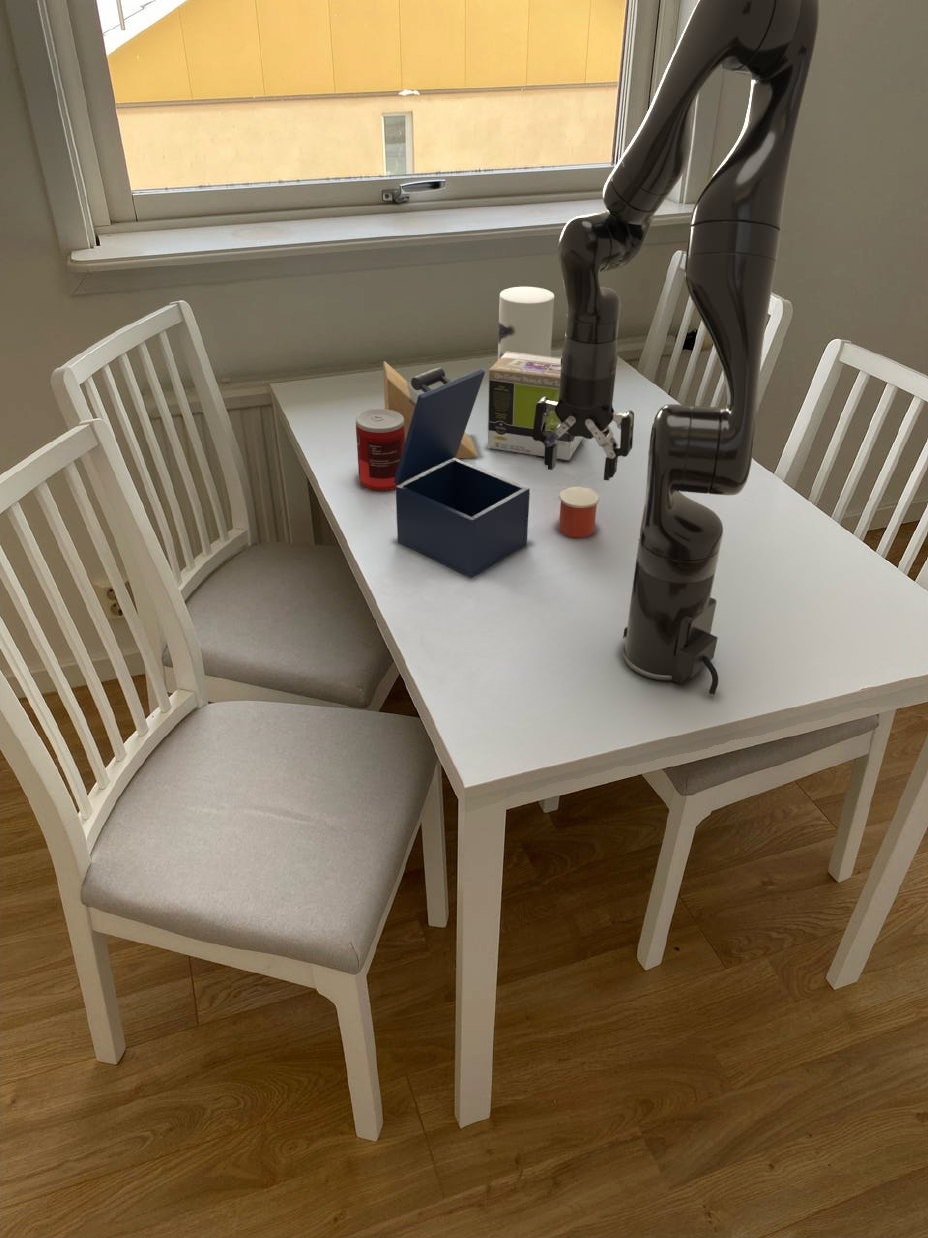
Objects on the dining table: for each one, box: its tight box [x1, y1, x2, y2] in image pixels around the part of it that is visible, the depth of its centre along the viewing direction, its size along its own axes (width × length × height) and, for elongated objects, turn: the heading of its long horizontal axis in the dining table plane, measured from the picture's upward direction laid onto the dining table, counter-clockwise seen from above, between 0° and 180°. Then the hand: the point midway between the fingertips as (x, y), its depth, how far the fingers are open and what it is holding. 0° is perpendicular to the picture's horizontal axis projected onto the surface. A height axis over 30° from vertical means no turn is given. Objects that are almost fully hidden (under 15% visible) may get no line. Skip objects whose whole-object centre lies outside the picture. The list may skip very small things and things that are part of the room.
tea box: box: [487, 351, 583, 461], centre depth 167 cm, size 15×10×15 cm, turn 70°
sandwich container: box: [382, 360, 479, 459], centre depth 165 cm, size 9×15×15 cm, turn 99°
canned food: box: [355, 408, 405, 492], centre depth 156 cm, size 8×8×11 cm
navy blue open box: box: [395, 458, 531, 579], centre depth 141 cm, size 15×13×9 cm
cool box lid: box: [394, 367, 486, 485], centre depth 137 cm, size 16×13×5 cm
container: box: [497, 286, 555, 361], centre depth 182 cm, size 10×10×20 cm
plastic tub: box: [558, 486, 600, 538], centre depth 146 cm, size 6×6×6 cm
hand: (579, 472), depth 142 cm, fingers open, 8 cm apart
